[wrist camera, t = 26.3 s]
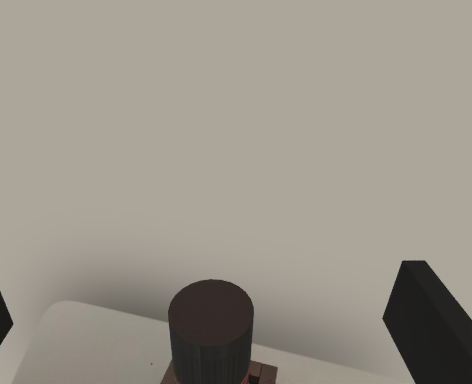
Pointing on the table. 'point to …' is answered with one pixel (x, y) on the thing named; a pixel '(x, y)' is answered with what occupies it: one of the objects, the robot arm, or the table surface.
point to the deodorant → (211, 333)
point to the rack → (259, 374)
